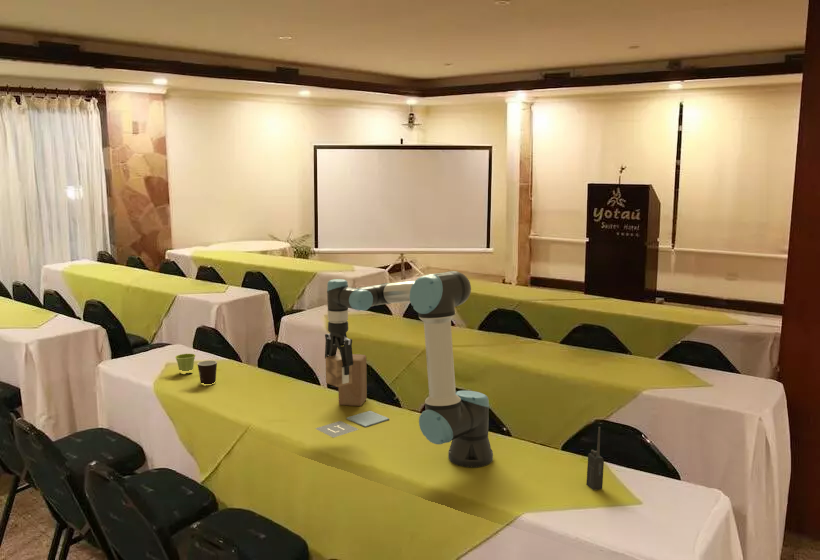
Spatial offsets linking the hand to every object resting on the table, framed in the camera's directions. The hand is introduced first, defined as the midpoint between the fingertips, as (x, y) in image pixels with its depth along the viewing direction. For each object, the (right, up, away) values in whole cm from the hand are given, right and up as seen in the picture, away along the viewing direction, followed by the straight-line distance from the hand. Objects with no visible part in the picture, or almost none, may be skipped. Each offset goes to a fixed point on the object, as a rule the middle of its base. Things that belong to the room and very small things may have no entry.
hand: (339, 380), depth 251 cm
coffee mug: (-67, -10, +58) cm, 89 cm away
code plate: (-1, -19, +2) cm, 19 cm away
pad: (+10, -17, +12) cm, 23 cm away
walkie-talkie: (+84, -26, -44) cm, 98 cm away
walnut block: (0, -1, 0) cm, 1 cm away
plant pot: (-82, -8, +73) cm, 110 cm away
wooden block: (+2, -14, +32) cm, 35 cm away
